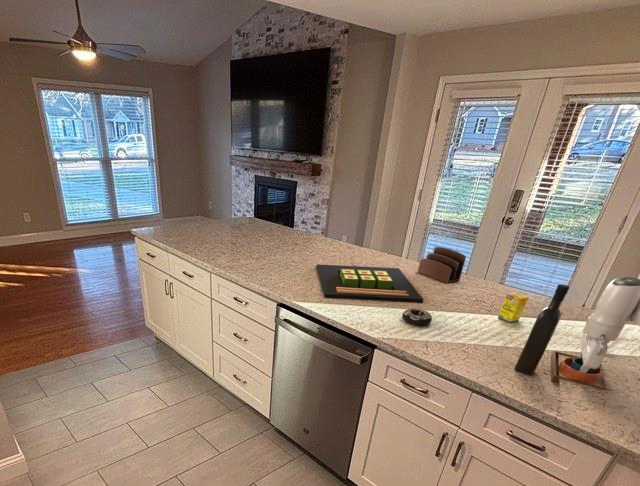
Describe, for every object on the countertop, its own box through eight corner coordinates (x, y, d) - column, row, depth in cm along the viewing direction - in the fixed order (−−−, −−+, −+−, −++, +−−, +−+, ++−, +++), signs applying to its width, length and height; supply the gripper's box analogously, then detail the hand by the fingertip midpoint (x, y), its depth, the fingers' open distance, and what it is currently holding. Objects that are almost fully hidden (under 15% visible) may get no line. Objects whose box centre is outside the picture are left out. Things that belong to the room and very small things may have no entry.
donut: (432, 329, 166) (435, 319, 164) (402, 325, 168) (404, 316, 166) (428, 317, 176) (430, 308, 173) (400, 314, 177) (402, 305, 175)
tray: (597, 368, 144) (600, 362, 143) (602, 395, 130) (606, 389, 128) (550, 356, 150) (553, 350, 149) (550, 381, 135) (554, 375, 134)
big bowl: (593, 376, 139) (601, 363, 137) (596, 391, 131) (604, 378, 128) (555, 366, 144) (562, 354, 141) (556, 381, 136) (562, 368, 133)
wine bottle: (535, 370, 141) (576, 286, 125) (531, 376, 138) (573, 290, 121) (517, 364, 144) (555, 281, 128) (513, 370, 141) (551, 285, 124)
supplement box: (497, 318, 178) (506, 293, 172) (506, 315, 180) (515, 292, 174) (509, 323, 173) (519, 299, 167) (518, 321, 176) (529, 296, 170)
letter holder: (429, 270, 231) (436, 244, 223) (459, 281, 217) (468, 254, 209) (417, 272, 227) (423, 246, 219) (447, 283, 213) (455, 256, 205)
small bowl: (590, 373, 138) (596, 361, 135) (591, 382, 133) (598, 370, 130) (566, 367, 140) (572, 356, 138) (567, 376, 136) (573, 364, 133)
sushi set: (324, 297, 190) (325, 288, 187) (316, 267, 227) (317, 259, 225) (422, 302, 189) (424, 293, 187) (397, 271, 227) (399, 263, 225)
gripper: (618, 345, 119) (594, 385, 127) (610, 321, 134) (590, 358, 141) (592, 339, 122) (570, 379, 129) (587, 316, 136) (568, 353, 144)
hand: (580, 368), depth 135 cm, fingers closed on small bowl, 6 cm apart
